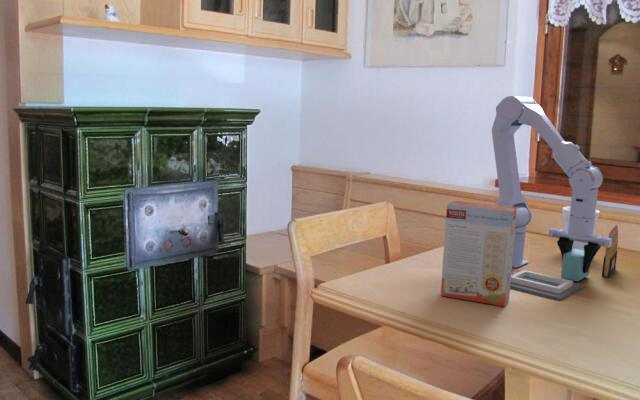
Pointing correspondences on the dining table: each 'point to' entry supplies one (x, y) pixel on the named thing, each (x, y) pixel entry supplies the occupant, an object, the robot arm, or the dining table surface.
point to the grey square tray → (543, 285)
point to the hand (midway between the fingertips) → (575, 269)
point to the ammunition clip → (611, 254)
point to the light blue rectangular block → (573, 265)
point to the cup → (566, 221)
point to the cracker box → (478, 252)
